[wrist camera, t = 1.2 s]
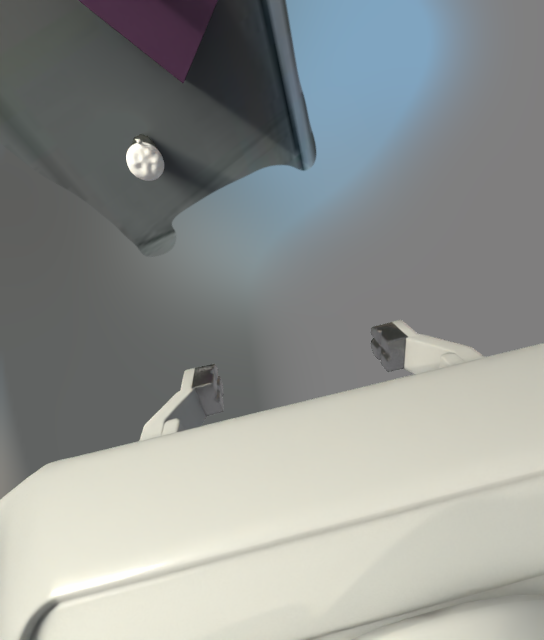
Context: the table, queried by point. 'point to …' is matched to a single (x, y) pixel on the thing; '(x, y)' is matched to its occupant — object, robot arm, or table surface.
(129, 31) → the lid
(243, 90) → the table surface
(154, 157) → the milkshake
